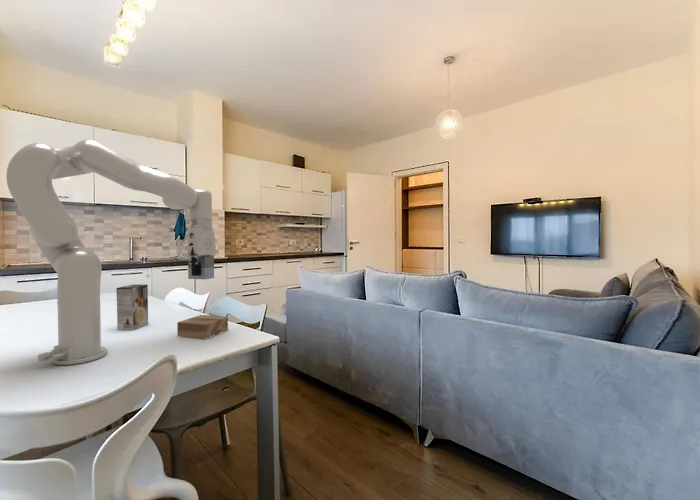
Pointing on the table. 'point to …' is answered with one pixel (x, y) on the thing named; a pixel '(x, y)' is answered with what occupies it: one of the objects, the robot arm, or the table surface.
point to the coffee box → (132, 307)
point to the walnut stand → (202, 326)
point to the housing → (203, 268)
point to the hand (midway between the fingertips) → (201, 274)
